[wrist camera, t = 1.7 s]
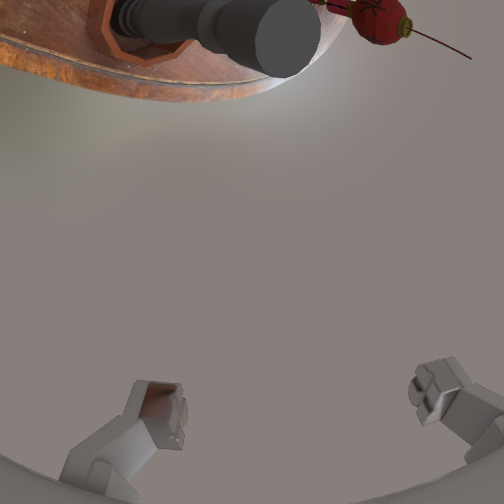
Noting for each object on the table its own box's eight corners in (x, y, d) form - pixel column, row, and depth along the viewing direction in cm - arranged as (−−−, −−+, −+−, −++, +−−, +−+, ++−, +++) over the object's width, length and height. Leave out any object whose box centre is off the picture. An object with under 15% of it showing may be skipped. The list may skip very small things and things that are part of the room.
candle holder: (102, 33, 24) (234, 68, 14) (119, -12, 21) (278, -25, 10) (146, 40, 29) (299, 91, 18) (163, -2, 25) (334, 18, 15)
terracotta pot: (113, 75, 29) (132, 86, 26) (70, 3, 18) (83, -1, 15) (186, 29, 31) (216, 35, 28) (158, -42, 20) (187, -49, 17)
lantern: (299, -33, 31) (480, 18, 18) (326, -8, 38) (481, 49, 25) (276, 6, 36) (458, 70, 23) (306, 28, 43) (460, 95, 30)
